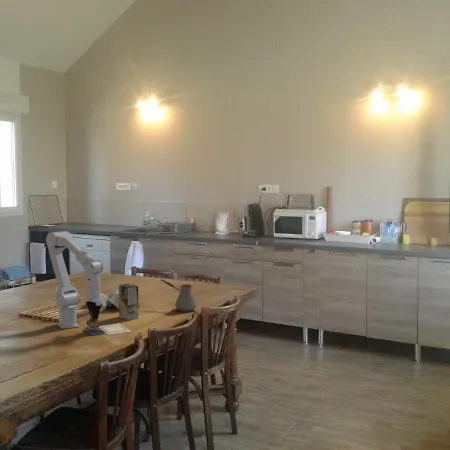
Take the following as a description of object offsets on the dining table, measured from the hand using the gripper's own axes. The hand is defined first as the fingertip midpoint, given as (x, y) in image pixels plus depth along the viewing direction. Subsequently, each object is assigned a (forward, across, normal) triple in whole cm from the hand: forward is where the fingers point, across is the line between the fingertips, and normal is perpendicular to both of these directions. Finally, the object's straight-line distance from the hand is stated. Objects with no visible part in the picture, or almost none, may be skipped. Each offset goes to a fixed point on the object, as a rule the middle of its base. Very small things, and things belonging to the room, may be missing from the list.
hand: (94, 318), depth 247 cm
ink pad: (+6, 0, 0) cm, 6 cm away
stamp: (+3, 0, 0) cm, 3 cm away
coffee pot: (+6, -22, +52) cm, 56 cm away
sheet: (+6, 0, +9) cm, 11 cm away
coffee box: (+6, -17, +22) cm, 29 cm away
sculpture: (+7, -44, +23) cm, 50 cm away
